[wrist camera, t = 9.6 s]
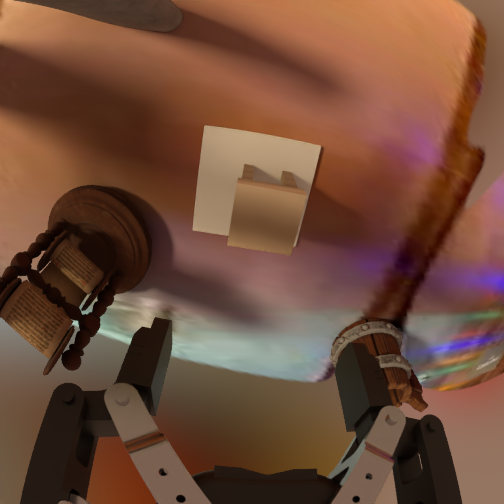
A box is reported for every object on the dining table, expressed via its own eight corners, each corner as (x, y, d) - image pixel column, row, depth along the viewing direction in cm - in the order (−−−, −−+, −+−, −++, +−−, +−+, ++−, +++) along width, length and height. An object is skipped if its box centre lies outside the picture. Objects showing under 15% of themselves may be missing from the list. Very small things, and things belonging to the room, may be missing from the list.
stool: (241, 160, 30) (236, 183, 23) (295, 170, 30) (306, 195, 23) (233, 209, 33) (227, 245, 26) (283, 218, 33) (290, 255, 26)
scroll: (43, 234, 35) (-43, 326, 18) (90, 156, 30) (-35, 237, 13) (117, 300, 40) (62, 414, 23) (178, 239, 35) (120, 376, 18)
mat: (193, 228, 34) (192, 230, 34) (205, 125, 28) (204, 125, 28) (294, 245, 35) (295, 246, 35) (320, 145, 29) (321, 146, 29)
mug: (350, 305, 40) (395, 394, 27) (412, 315, 44) (455, 384, 32) (310, 357, 45) (338, 440, 33) (373, 360, 50) (405, 427, 37)
